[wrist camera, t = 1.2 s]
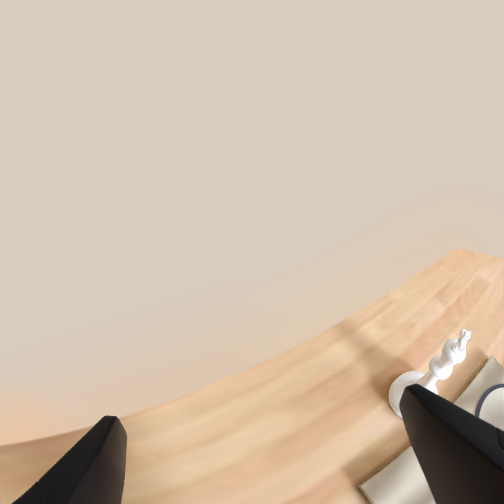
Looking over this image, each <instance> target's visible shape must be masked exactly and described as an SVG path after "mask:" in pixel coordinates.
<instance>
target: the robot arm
mask: <svg viewBox="0 0 504 504" xmlns="http://www.w3.org/2000/svg"><path fill="white" fill-rule="evenodd" d="M399 409H400V412H401V415H402V418H403V421H404V424H405V428H406V431H407V434H408V437H409V440H410V443H411V446H412V448H413V451H414V453H415V455H416V457H417V460H418V462H419V464H420V467H421V469H422V471H423V474H424V476H425V478H426V481H427V483H428V486H429V488H430V491H431V493H432V495H433V498H434V500H435V503H436V504H504V431H503V430H501V429H499V428H496V427H495V426H494V425H492V424H490V423H488V422H486V421H484V420H482V419H481V418H479V417H477V416H475V415H473V414H471V413H470V412H468V411H466V410H464V409H462V408H460V407H459V406H457V405H455V404H453V403H451V402H450V401H448V400H446V399H444V398H442V397H441V396H439V395H437V394H435V393H434V392H432V391H430V390H428V389H427V388H425V387H423V386H421V385H419V384H417V383H415V384H412V385H408V386H406V387H405V389H404V391H403V394H402V397H401V399H400V402H399ZM126 446H127V434H126V431H125V429H124V427H123V426H122V424H121V422H120V420H119V419H118V418H117V417H116V416H104V417H103V418H102V419H101V420H100V421H99V422H98V423H97V424H96V425H95V426H94V427H93V428H92V429H91V430H90V431H89V432H88V433H87V434H85V435H84V436H83V437H82V438H81V439H80V440H79V441H78V442H77V443H76V444H75V445H74V446H73V447H72V448H71V449H70V450H69V451H68V452H67V453H66V454H65V455H64V456H63V457H62V458H61V459H60V460H59V461H58V462H57V463H56V464H55V465H54V466H53V467H52V468H51V469H50V470H49V471H48V472H47V473H46V474H44V475H43V476H42V477H41V478H40V479H39V482H38V481H37V482H36V483H35V484H34V485H33V486H32V487H31V488H30V489H29V490H28V491H26V492H25V493H24V494H23V495H22V496H21V497H19V498H18V499H17V500H16V501H14V502H13V503H12V504H121V500H122V493H123V487H124V480H125V464H126Z"/></svg>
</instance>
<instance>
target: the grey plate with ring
mask: <svg viewBox="0 0 504 504" xmlns="http://www.w3.org/2000/svg"><path fill="white" fill-rule="evenodd" d="M453 404H455V405H457V406H459V407H460V408H462V409H464V410H466V411H468V412H470V413H471V414H473V415H475V416H477V417H479V418H481V419H482V420H484V421H486V422H488V423H490V424H492V425H494V426H495V427H496V428H499V429H501V430H503V431H504V368H503V367H502V366H501V365H500V364H499V362H498V361H497V360H496V359H495V358H494V357H493V356H491V357H490V358H489V360H488V361H487V362H486V364H485V365H484V366H483V368H482V369H481V370H480V372H479V373H478V374H477V375H476V377H475V378H474V379H473V380H472V382H471V383H470V384H469V385H468V386H467V388H466V389H465V390H464V391H463V392H462V394H461V395H460V396H459V397H458V398H457V399H456V400H455V401H454V403H453ZM358 488H359V489H360V490H361V491H362V493H363V494H364V495H365V497H366V498H367V499H368V500H369V502H370V503H371V504H436V503H435V500H434V498H433V495H432V493H431V491H430V488H429V486H428V483H427V481H426V478H425V476H424V474H423V471H422V469H421V467H420V464H419V462H418V460H417V457H416V455H415V453H414V451H413V448H412V446H411V445H410V446H409V447H408V448H407V449H406V450H404V451H403V452H402V453H401V454H400V455H399V456H397V457H396V458H395V459H394V460H393V461H391V462H390V463H389V464H388V465H386V466H385V467H384V468H383V469H381V470H380V471H379V472H377V473H376V474H375V475H373V476H372V477H371V478H369V479H368V480H366V481H365V482H364V483H362V484H361V485H359V486H358Z"/></svg>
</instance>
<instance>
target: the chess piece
mask: <svg viewBox="0 0 504 504" xmlns="http://www.w3.org/2000/svg"><path fill="white" fill-rule="evenodd" d="M470 337H471V332H470V331H468V330H465V329H463V330H462V331H461V333H460V339H459V340H457V339H449V340H447V341H446V342H445V344H444V346H443V349H442V353H441V355H436V356H434V357H433V358H432V359H431V360H430V362H429V369H430V371H428V372H427V373H426V374H424V373H421V372H417V371H410V372H406V373H404V374H402V375H400V376H399V377H398V378H397V379H396V380H395V381H394V382H393V383H392V385H391V387H390V390H389V402H390V405H391V407H392V409H393V411H394V412H395V413H396V414H397V415H398V416H399V417H401V418H402V415H401V412H400V409H399V402H400V399H401V397H402V394H403V391H404V389H405V387H406V386H408V385H412V384H415V383H417V384H419V385H421V386H423V387H425V388H427V389H428V390H430V391H432V392H434V393H435V394H437V389H436V386H435V383H436V381H437V380H438V379H446V378H448V377H449V376H450V374H451V372H452V366H453V365H455V364H458V363H460V362H461V361H463V360H464V358H465V356H466V349H465V348H466V342H467V341H468V340H469V338H470Z"/></svg>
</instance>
